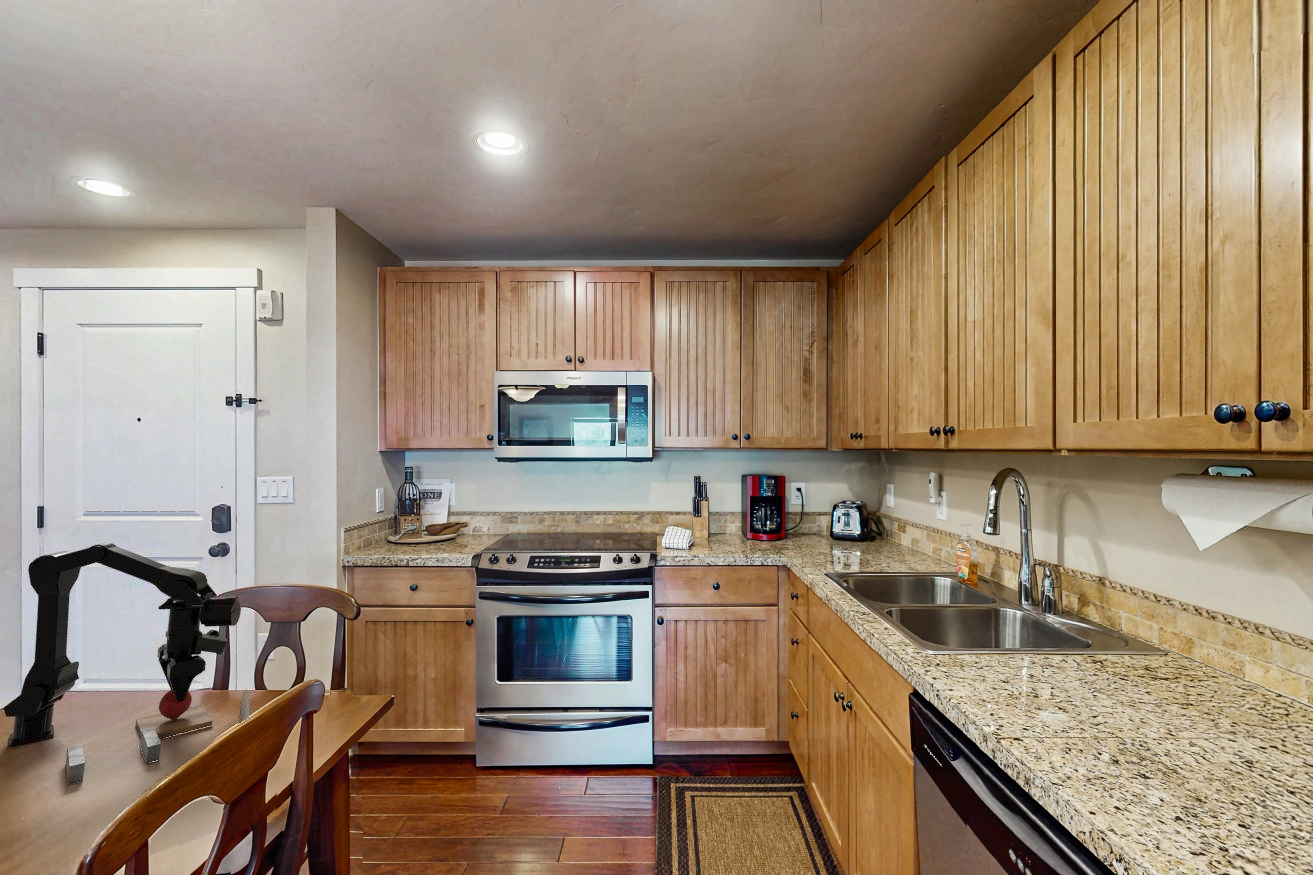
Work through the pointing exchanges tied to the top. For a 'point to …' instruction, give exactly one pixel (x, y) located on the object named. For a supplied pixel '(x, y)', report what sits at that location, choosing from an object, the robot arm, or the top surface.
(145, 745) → the twin grey rails
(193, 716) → the tan board
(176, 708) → the onion
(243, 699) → the screw
